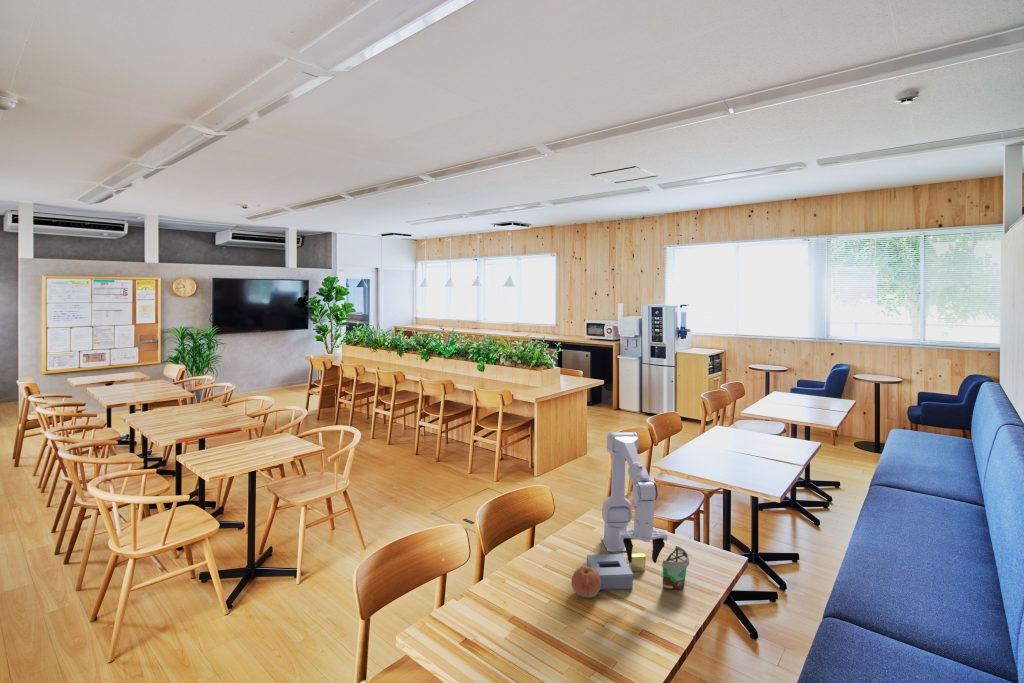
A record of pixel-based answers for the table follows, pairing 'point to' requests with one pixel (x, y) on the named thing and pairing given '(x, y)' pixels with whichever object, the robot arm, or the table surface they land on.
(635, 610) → the table surface
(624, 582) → the coin box
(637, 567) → the block
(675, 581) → the food container
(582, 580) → the apple
